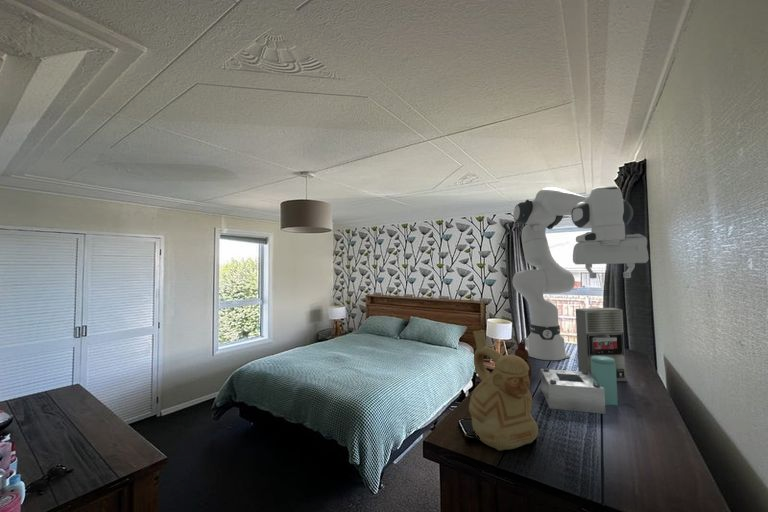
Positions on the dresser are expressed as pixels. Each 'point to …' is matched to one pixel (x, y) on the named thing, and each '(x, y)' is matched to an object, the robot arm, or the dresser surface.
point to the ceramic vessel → (501, 399)
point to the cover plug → (605, 377)
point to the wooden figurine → (523, 355)
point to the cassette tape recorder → (601, 338)
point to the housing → (572, 391)
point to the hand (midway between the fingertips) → (609, 278)
